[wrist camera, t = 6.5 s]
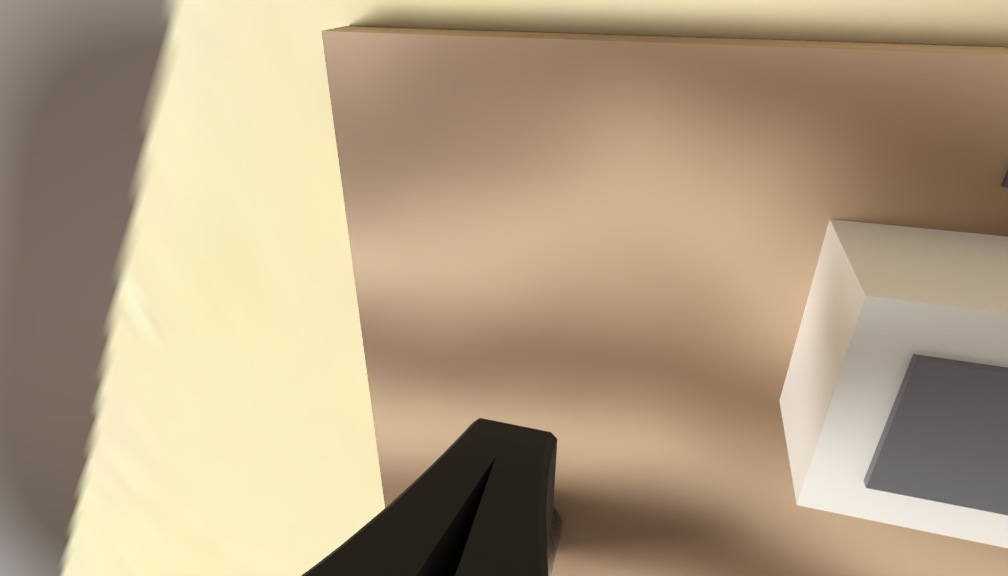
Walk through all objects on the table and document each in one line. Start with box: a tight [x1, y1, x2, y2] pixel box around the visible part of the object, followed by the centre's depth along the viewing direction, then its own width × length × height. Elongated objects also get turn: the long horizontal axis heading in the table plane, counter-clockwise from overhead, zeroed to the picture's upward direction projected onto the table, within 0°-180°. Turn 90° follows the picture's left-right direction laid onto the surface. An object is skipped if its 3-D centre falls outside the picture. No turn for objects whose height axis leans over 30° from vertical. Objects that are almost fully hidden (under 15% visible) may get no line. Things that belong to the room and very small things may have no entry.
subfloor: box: [322, 26, 1008, 576], centre depth 17 cm, size 18×22×1 cm
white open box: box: [779, 219, 1008, 548], centre depth 12 cm, size 5×7×4 cm
